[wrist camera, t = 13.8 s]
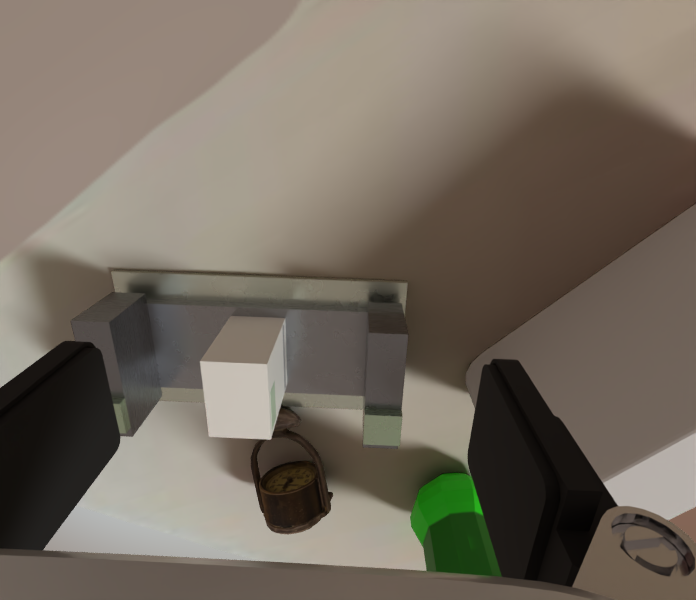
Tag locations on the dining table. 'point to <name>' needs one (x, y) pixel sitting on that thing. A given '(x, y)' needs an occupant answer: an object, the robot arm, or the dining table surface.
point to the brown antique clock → (292, 484)
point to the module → (245, 377)
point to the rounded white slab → (623, 369)
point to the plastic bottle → (453, 527)
